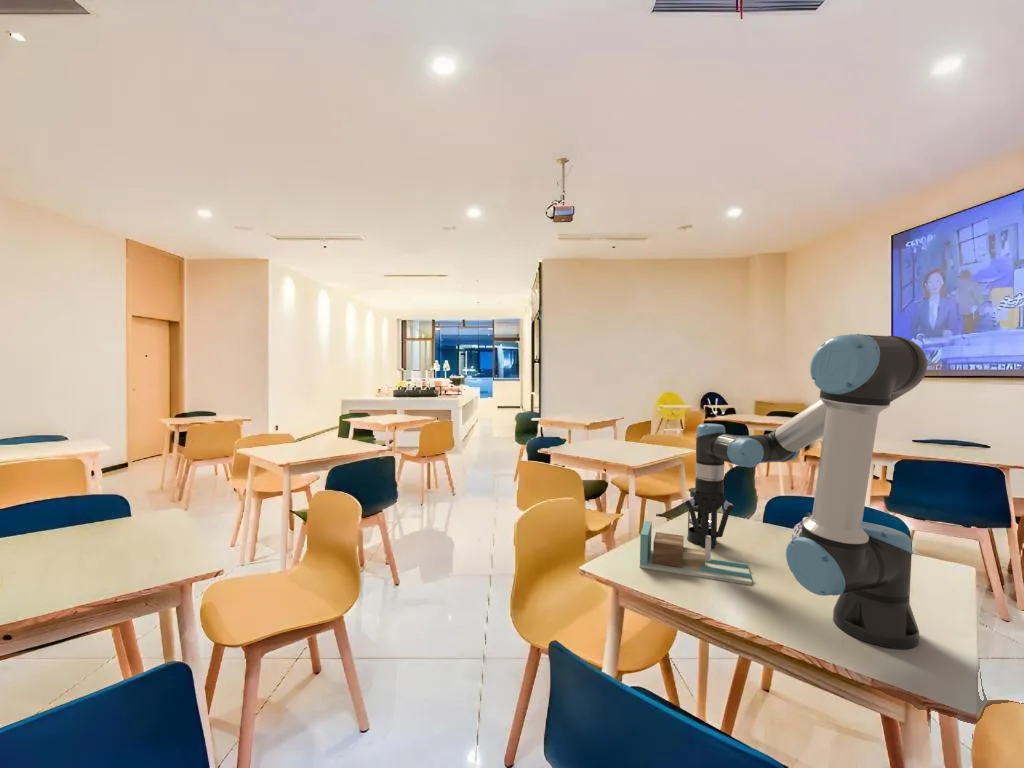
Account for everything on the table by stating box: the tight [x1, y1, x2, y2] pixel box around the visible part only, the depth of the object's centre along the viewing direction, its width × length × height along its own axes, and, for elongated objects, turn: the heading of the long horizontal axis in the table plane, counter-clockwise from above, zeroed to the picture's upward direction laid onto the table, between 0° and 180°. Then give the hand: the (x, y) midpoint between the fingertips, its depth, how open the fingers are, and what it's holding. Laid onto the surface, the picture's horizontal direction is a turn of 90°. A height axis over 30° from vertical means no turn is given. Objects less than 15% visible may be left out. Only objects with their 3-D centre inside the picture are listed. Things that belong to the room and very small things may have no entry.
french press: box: [686, 487, 718, 546], centre depth 159 cm, size 12×9×23 cm
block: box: [652, 531, 685, 567], centre depth 141 cm, size 9×8×6 cm
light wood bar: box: [682, 546, 705, 568], centre depth 139 cm, size 4×12×4 cm, turn 68°
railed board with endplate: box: [639, 520, 753, 586], centre depth 138 cm, size 13×29×10 cm, turn 69°
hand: (707, 559), depth 137 cm, fingers closed
